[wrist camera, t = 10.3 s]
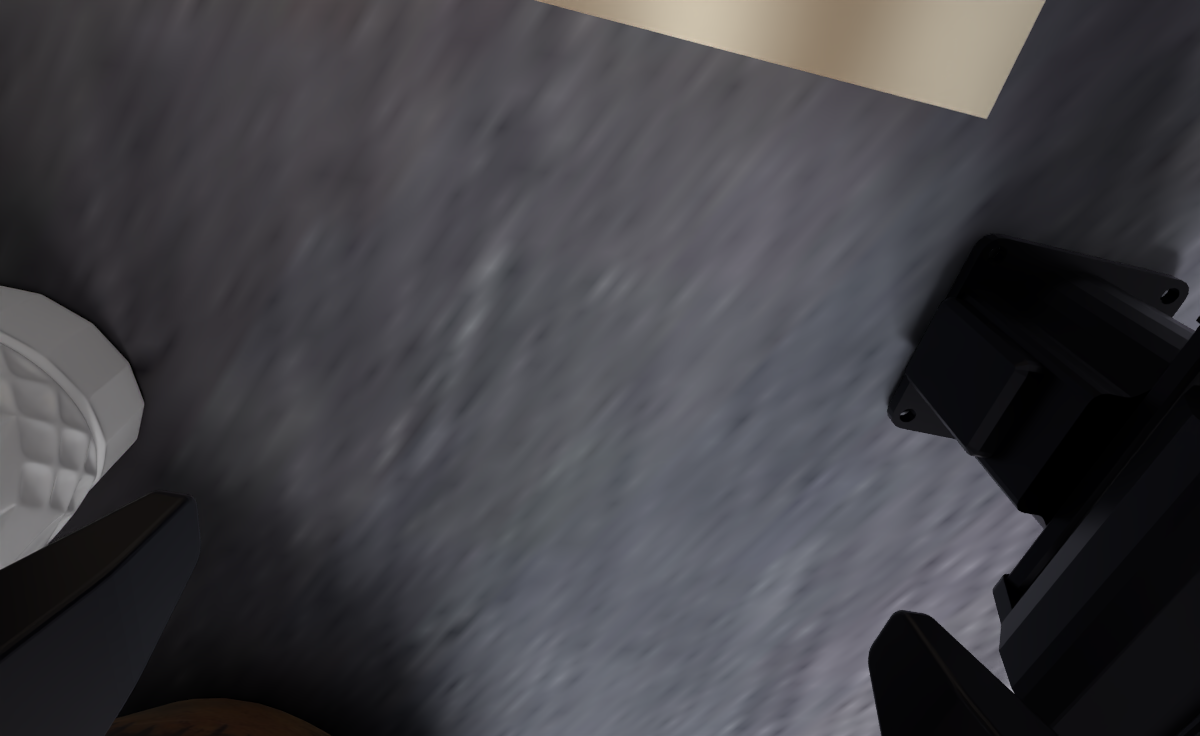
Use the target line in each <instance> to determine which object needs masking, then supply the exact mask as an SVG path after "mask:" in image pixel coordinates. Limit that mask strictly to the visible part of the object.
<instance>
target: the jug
mask: <svg viewBox="0 0 1200 736" xmlns="http://www.w3.org/2000/svg"><path fill="white" fill-rule="evenodd" d="M105 736H331V735H329V734H328V733H326V732H324V731H323V730H321V729H319V728H317V727H315V726H313V725H311V724H310V723H308V722H306V721H304V720H302V719H299V718H297V717H295V716H293V715H290V714H288V713H286V712H283V711H281V710H278V709H275V708H272V707H269V706H265V705H262V704H259V703H253V702H247V701H241V700H234V699H228V698H210V699H190V700H184V701H178V702H173V703H170V704H166V705H163V706H159V707H155V708H152V709H148V710H145V711H141V712H137V713H134V714H130V715H127V716H123V717H119V718H116V719H115V720H114V722H113V723H112V725H111V727H110V728H109V730H108V731H107V733H106V735H105Z"/></svg>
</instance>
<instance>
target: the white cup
mask: <svg viewBox="0 0 1200 736" xmlns="http://www.w3.org/2000/svg"><path fill="white" fill-rule="evenodd" d="M143 409H144V400H143V398H142V395H141V392H140V390H139V387H138V384H137V382H136V379H135V377H134V374H133V371H132V369H131V366H130V364H129V362H128V361H127V360H126V359H125V358H124V357H123V355H122V354H121V353H120V352H119V351H118V350H117V349H116V348H115V347H114V346H113V345H112V344H111V342H110V341H109V340H108V339H107V338H106V337H105V336H104V335H103V334H102V333H101V332H100V331H99V330H98V329H97V327H96V326H95V325H94V324H92V323H91V322H89V321H88V320H86V319H84V318H82V317H81V316H79V315H77V314H75V313H74V312H72V311H70V310H68V309H66V308H65V307H63V306H61V305H59V304H58V303H56V302H54V301H52V300H51V299H49V298H47V297H45V296H44V295H41V294H38V293H34V292H29V291H24V290H19V289H14V288H10V287H5V286H0V570H1V569H2V568H4V567H6V566H8V565H10V564H12V563H14V562H16V561H18V560H20V559H22V558H24V557H26V556H28V555H30V554H32V553H34V552H36V551H37V550H39V549H41V548H43V547H45V546H47V544H48V543H49V542H50V541H51V540H52V539H53V538H54V537H55V536H56V535H57V533H58V532H59V531H60V530H61V529H62V528H63V527H64V525H65V524H66V523H67V522H68V521H69V519H70V518H71V517H72V516H73V514H74V513H75V512H76V511H77V510H78V509H79V506H80V504H81V503H82V501H83V500H84V498H85V497H86V495H87V493H88V492H89V491H90V490H91V489H92V488H93V487H94V486H95V484H96V483H97V482H98V481H99V480H100V479H101V478H102V477H103V476H104V474H105V473H106V472H107V471H108V470H109V469H110V468H111V467H112V466H113V465H114V464H115V463H116V462H117V461H118V459H119V458H120V457H121V456H122V455H123V454H124V453H125V452H126V451H127V450H128V449H129V448H130V447H131V445H132V444H133V443H134V442H135V441H136V440H137V438H138V434H139V429H140V424H141V419H142V414H143Z"/></svg>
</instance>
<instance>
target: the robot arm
mask: <svg viewBox="0 0 1200 736" xmlns="http://www.w3.org/2000/svg"><path fill="white" fill-rule="evenodd" d="M996 247H999V252H998V253H997V255H996V256H995V257H993V258H991V259H988V255H989V253H990V252H991V251H992V249H994V248H996ZM1168 289H1169V290H1168ZM1166 290H1168V292H1167V293H1166V294H1165V295H1164V296H1163V297H1161V296H1162V294H1163V293H1164V292H1165V291H1166ZM1188 291H1189V287H1188V285H1187V283H1185V282H1183V281H1181V280H1179V279H1177V278H1175V277H1173V276H1171V275H1168V274H1164V273H1160V272H1156V271H1151V270H1147V269H1143V268H1139V267H1135V266H1131V265H1126V264H1122V263H1118V262H1114V261H1110V260H1106V259H1102V258H1097V257H1093V256H1089V255H1085V254H1081V253H1077V252H1072V251H1068V250H1064V249H1060V248H1056V247H1052V246H1048V245H1043V244H1039V243H1035V242H1031V241H1027V240H1023V239H1019V238H1014V237H1010V236H1006V235H1002V234H990V235H987V236H984V237H983V238H982V239H980V240H979V241H978V242H977V243H976V245H975V246H974V248H973V250H972V251H971V253H970V255H969V257H968V259H967V261H966V263H965V264H964V266H963V268H962V270H961V272H960V274H959V276H958V277H957V279H956V281H955V283H954V285H953V287H952V289H951V291H950V292H949V294H948V296H947V298H946V300H945V301H943V302H942V303H941V304H940V306H939V308H938V310H937V312H936V314H935V316H934V317H933V319H932V321H931V323H930V325H929V327H928V329H927V330H926V332H925V334H924V336H923V338H922V340H921V342H920V344H919V345H918V347H917V349H916V351H915V353H914V355H913V357H912V359H911V360H910V362H909V364H908V366H907V368H906V370H905V373H906V374H905V376H904V378H903V380H902V382H901V384H900V385H899V387H898V389H897V391H896V393H895V395H894V397H893V398H892V400H891V402H890V404H889V406H888V409H887V413H888V416H889V418H890V419H891V421H892V422H893V423H894V425H895V426H897V427H899V428H902V429H907V430H912V431H918V432H923V433H928V434H933V435H938V436H943V437H948V438H953V439H956V440H957V441H958V442H959V444H960V445H961V446H962V447H963V449H964V450H965V451H966V452H967V453H968V454H969V455H971V456H975V458H976V459H977V460H978V461H979V462H980V464H981V465H982V466H983V467H984V469H985V470H986V471H987V472H988V474H989V475H990V476H991V477H992V478H993V480H994V481H995V482H996V483H997V485H998V486H999V487H1000V488H1001V490H1002V491H1003V492H1004V493H1005V494H1006V496H1007V497H1008V498H1009V499H1010V501H1011V502H1012V503H1013V504H1014V506H1015V507H1016V508H1017V509H1018V510H1019V511H1021V512H1023V513H1028V514H1032V515H1033V517H1034V518H1035V519H1036V520H1037V521H1038V523H1039V524H1040V525H1041V526H1042V527H1043V529H1044V530H1043V531H1042V533H1041V534H1040V535H1039V537H1038V538H1037V539H1036V540H1035V542H1034V543H1033V544H1032V546H1031V547H1030V548H1029V550H1028V551H1027V552H1026V554H1025V555H1024V556H1023V558H1022V559H1021V560H1020V561H1019V563H1018V564H1017V565H1016V567H1015V568H1014V569H1013V571H1012V572H1011V573H1010V574H1004V575H1003V576H1002V578H1001V579H1000V580H999V582H998V583H997V584H996V585H995V587H994V588H993V595H994V599H995V603H996V607H997V610H998V614H999V618H1000V622H1001V634H1000V645H999V652H1000V655H1001V658H1002V661H1003V664H1004V667H1005V670H1006V673H1007V676H1008V679H1009V682H1010V685H1011V688H1012V690H1013V692H1014V693H1015V694H1014V693H1013V692H1012V691H1011V690H1009V689H1008V688H1007V687H1006V686H1005V685H1004V684H1003V683H1002V682H1001V681H1000V680H999V679H998V678H997V677H996V676H994V675H993V674H992V673H991V672H990V671H989V670H988V669H987V668H986V667H985V666H984V665H983V664H982V663H980V662H979V661H978V660H977V659H976V658H975V657H974V656H973V655H972V654H971V653H970V652H969V651H968V650H967V649H965V648H964V647H963V646H962V645H961V644H960V643H959V642H958V641H957V640H956V639H955V638H954V637H953V636H952V635H950V634H949V633H948V632H947V631H946V630H945V629H944V628H943V627H942V626H941V625H940V624H939V623H938V622H937V621H935V620H934V619H933V618H932V617H930V616H929V615H926V614H924V613H917V612H911V611H905V610H899V611H897V612H895V613H893V615H892V616H891V617H890V619H889V620H888V622H887V623H886V625H885V626H884V628H883V629H882V631H881V632H880V634H879V635H878V637H877V638H876V640H875V641H874V643H873V644H872V646H871V648H870V651H869V657H868V665H869V672H870V677H871V683H872V688H873V693H874V699H875V704H876V710H877V715H878V720H879V726H880V731H881V736H1200V326H1199V327H1198V328H1197V330H1196V331H1194V330H1192V329H1191V328H1189V327H1187V326H1185V325H1184V324H1182V323H1180V322H1178V321H1177V320H1175V319H1173V318H1172V317H1173V316H1174V314H1175V313H1176V312H1177V310H1178V309H1179V307H1180V306H1181V305H1182V303H1183V302H1184V301H1185V299H1186V297H1187V295H1188ZM1196 321H1197V322H1198V323H1200V316H1199V317H1198V319H1197V320H1196ZM906 409H910V411H909V412H908V413H907V414H905V415H900V414H901V413H902V412H903V411H904V410H906ZM200 549H201V539H200V528H199V518H198V508H197V502H196V500H195V498H194V497H193V496H191V495H188V494H182V493H176V492H170V491H164V490H157V491H153V492H151V493H148V494H146V495H144V496H142V497H140V498H139V499H137V500H135V501H133V502H131V503H129V504H127V505H125V506H123V507H121V508H119V509H117V510H115V511H113V512H111V513H109V514H107V515H105V516H104V517H102V518H100V519H98V520H96V521H94V522H92V523H90V524H88V525H86V526H84V527H82V528H80V529H78V530H76V531H74V532H72V533H70V534H69V535H67V536H65V537H63V538H61V539H59V540H57V541H55V542H53V543H51V544H49V545H47V546H45V547H43V548H41V549H39V550H37V551H36V552H34V553H32V554H30V555H28V556H26V557H24V558H22V559H20V560H18V561H16V562H14V563H12V564H10V565H8V566H6V567H4V568H2V569H1V570H0V736H105V735H106V733H107V731H108V730H109V728H110V727H111V725H112V723H113V722H114V720H115V719H116V717H117V716H118V714H119V712H120V711H121V709H122V708H123V706H124V704H125V703H126V701H127V699H128V698H129V696H130V694H131V693H132V691H133V689H134V688H135V686H136V684H137V682H138V680H139V678H140V676H141V674H142V672H143V670H144V669H145V667H146V665H147V663H148V661H149V659H150V657H151V655H152V653H153V651H154V649H155V647H156V644H157V642H158V640H159V638H160V636H161V634H162V632H163V630H164V628H165V626H166V624H167V622H168V620H169V618H170V616H171V614H172V612H173V610H174V608H175V606H176V604H177V602H178V600H179V598H180V596H181V594H182V592H183V590H184V588H185V586H186V584H187V582H188V580H189V578H190V576H191V574H192V572H193V570H194V568H195V566H196V563H197V561H198V558H199V554H200Z"/></svg>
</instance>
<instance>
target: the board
mask: <svg viewBox="0 0 1200 736" xmlns="http://www.w3.org/2000/svg"><path fill="white" fill-rule="evenodd" d="M536 1H540V2H543V3H547V4H551V5H555V6H559V7H563V8H566V9H570V10H574V11H578V12H582V13H585V14H589V15H593V16H597V17H601V18H604V19H608V20H612V21H616V22H620V23H623V24H627V25H631V26H635V27H639V28H642V29H646V30H650V31H654V32H658V33H661V34H665V35H669V36H673V37H677V38H680V39H684V40H688V41H692V42H696V43H699V44H703V45H707V46H711V47H715V48H718V49H722V50H726V51H730V52H734V53H737V54H741V55H745V56H749V57H753V58H756V59H760V60H764V61H768V62H772V63H775V64H779V65H783V66H787V67H791V68H794V69H798V70H802V71H806V72H810V73H813V74H817V75H821V76H825V77H829V78H833V79H836V80H840V81H844V82H848V83H852V84H855V85H859V86H863V87H867V88H871V89H874V90H878V91H882V92H886V93H890V94H893V95H897V96H901V97H905V98H909V99H912V100H916V101H920V102H924V103H928V104H931V105H935V106H939V107H943V108H947V109H950V110H954V111H958V112H962V113H966V114H969V115H973V116H977V117H981V118H985V119H987V118H988V116H989V114H990V112H991V110H992V107H993V105H994V103H995V101H996V99H997V97H998V95H999V93H1000V91H1001V89H1002V87H1003V85H1004V83H1005V81H1006V79H1007V77H1008V75H1009V73H1010V71H1011V69H1012V67H1013V65H1014V63H1015V61H1016V59H1017V57H1018V55H1019V53H1020V51H1021V49H1022V47H1023V45H1024V43H1025V41H1026V39H1027V37H1028V35H1029V33H1030V31H1031V29H1032V27H1033V25H1034V23H1035V21H1036V19H1037V17H1038V15H1039V13H1040V11H1041V9H1042V7H1043V5H1044V3H1045V1H1046V0H536Z"/></svg>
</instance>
